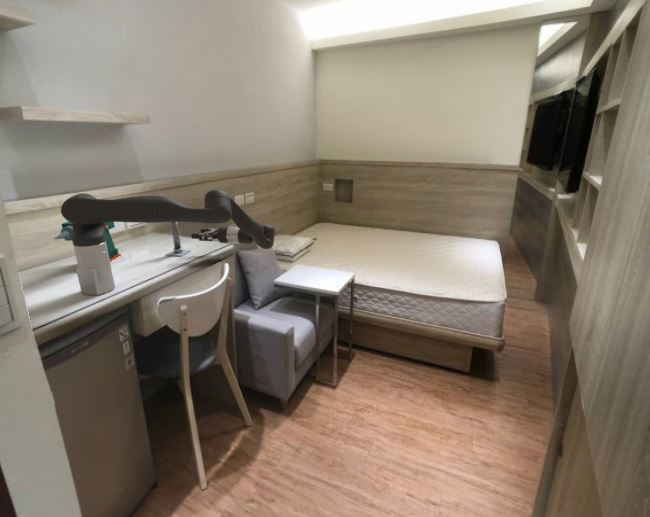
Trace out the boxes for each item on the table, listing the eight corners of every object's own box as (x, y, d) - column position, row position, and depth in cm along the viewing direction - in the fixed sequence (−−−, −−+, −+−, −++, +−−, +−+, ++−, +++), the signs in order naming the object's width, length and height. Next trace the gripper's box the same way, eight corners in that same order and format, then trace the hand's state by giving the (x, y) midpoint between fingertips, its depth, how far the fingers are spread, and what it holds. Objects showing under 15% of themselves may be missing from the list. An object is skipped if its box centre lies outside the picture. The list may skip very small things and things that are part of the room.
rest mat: (181, 256, 157) (181, 255, 157) (165, 255, 158) (165, 254, 158) (190, 251, 165) (190, 250, 164) (174, 250, 166) (174, 249, 165)
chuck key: (177, 255, 158) (173, 220, 152) (170, 254, 158) (165, 219, 153) (185, 250, 164) (181, 216, 159) (178, 249, 165) (174, 216, 160)
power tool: (74, 283, 127) (61, 230, 120) (55, 283, 127) (41, 230, 120) (122, 256, 157) (114, 212, 150) (106, 255, 157) (97, 212, 150)
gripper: (236, 223, 160) (202, 221, 162) (223, 230, 147) (187, 229, 149) (237, 238, 163) (204, 237, 165) (224, 247, 149) (189, 245, 151)
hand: (196, 233), depth 157 cm, fingers open, 8 cm apart
